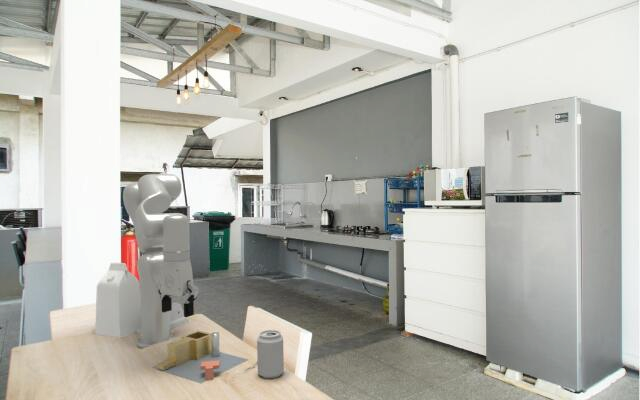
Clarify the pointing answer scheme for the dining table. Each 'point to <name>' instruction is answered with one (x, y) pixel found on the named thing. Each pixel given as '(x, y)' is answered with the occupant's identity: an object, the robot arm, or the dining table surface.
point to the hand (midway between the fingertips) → (177, 313)
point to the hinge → (177, 316)
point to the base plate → (195, 374)
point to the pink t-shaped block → (209, 368)
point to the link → (187, 349)
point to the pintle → (215, 344)
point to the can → (270, 354)
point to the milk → (118, 302)
